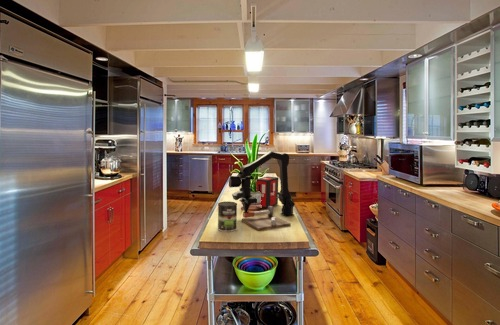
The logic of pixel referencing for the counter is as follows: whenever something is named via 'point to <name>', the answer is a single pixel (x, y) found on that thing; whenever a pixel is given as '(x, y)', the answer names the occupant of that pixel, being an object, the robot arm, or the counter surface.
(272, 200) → the cleaning product box
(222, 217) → the coffee can
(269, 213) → the lever
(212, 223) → the counter surface
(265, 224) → the base
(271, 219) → the grey brown rectangular block
